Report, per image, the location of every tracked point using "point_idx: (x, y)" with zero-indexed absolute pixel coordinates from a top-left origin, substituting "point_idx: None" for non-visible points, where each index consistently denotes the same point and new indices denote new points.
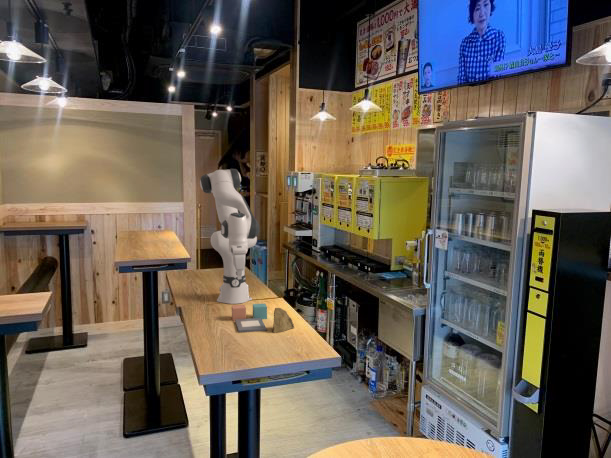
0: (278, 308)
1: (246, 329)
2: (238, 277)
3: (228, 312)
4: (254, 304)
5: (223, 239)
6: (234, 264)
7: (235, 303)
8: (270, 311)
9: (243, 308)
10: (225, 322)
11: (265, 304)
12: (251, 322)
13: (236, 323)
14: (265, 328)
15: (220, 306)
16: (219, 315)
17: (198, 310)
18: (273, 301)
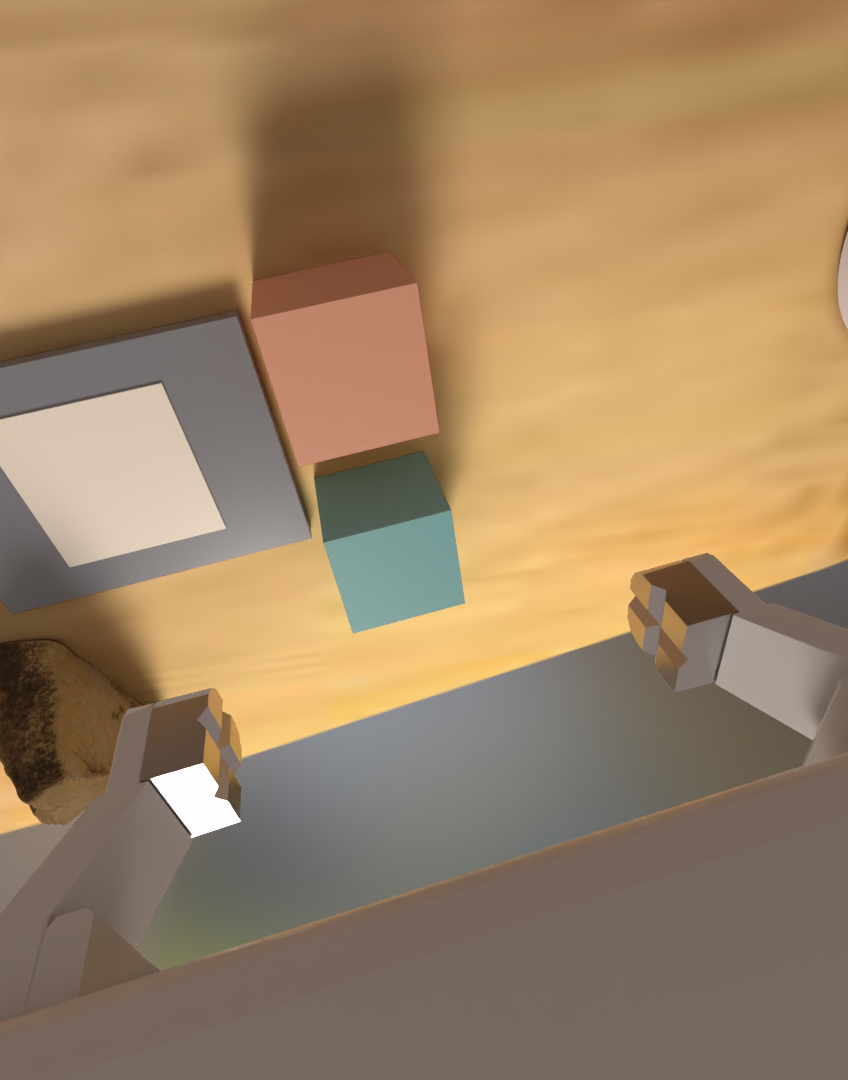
0: (33, 813)
1: None
2: (125, 755)
3: (571, 188)
4: (434, 527)
5: None
6: (587, 974)
7: (845, 241)
8: (533, 560)
9: (291, 440)
10: (186, 192)
11: (430, 611)
12: (150, 486)
13: (107, 343)
14: (9, 608)
15: (835, 46)
16: (468, 71)
17: None
18: (778, 546)
